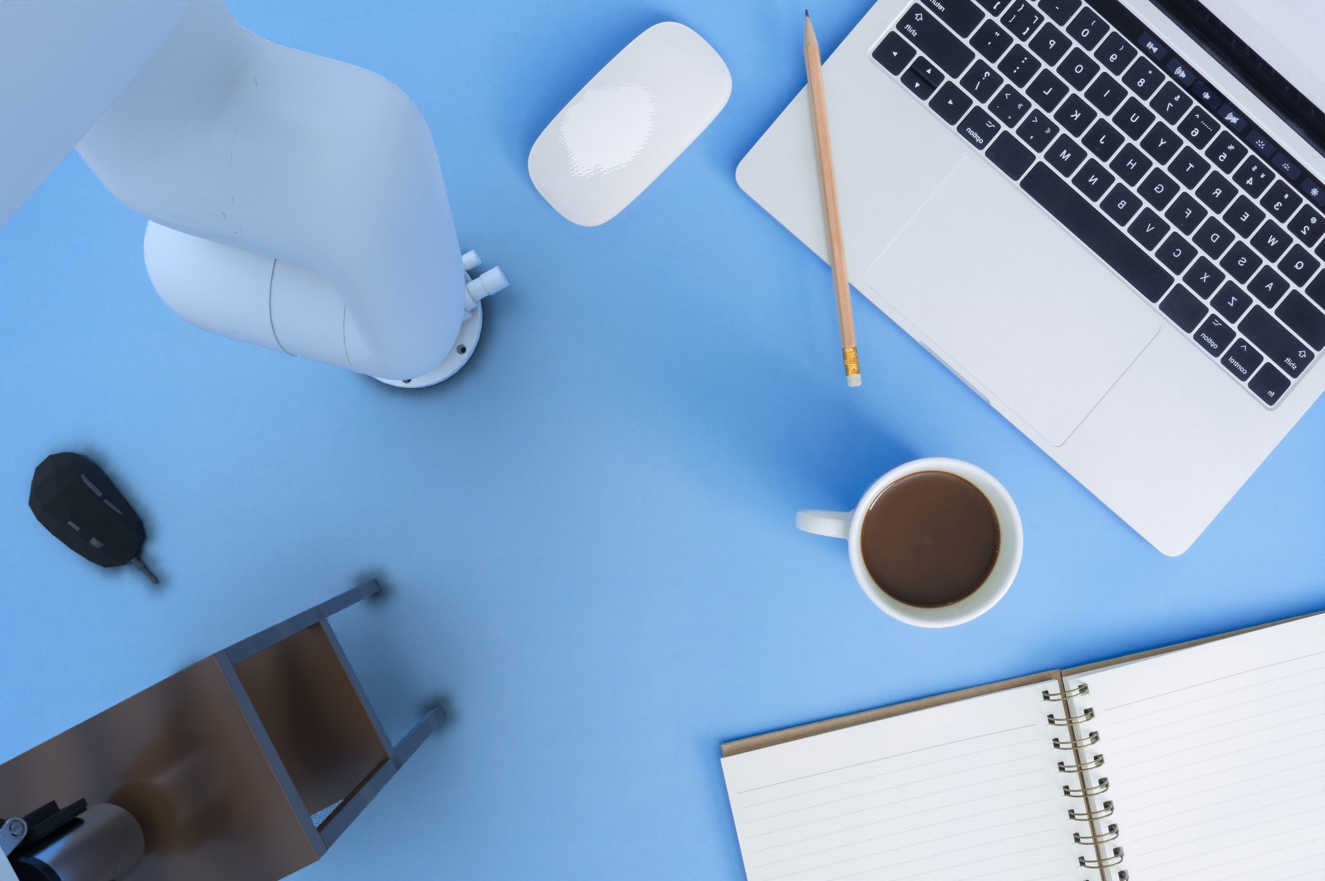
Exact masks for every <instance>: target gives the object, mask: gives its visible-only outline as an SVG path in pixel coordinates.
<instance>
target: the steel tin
mask: <svg viewBox="0 0 1325 881" xmlns="http://www.w3.org/2000/svg"><path fill="white" fill-rule="evenodd" d="M86 808H87V810H86V811H85V812H83V813H81V814H80V815H78V816H77V817H75V818H73V819H72V820H70V821H69V822H67V823H65V824H64V825H62V826H61V827H59V828H57V829H56V830H54V831H53V832H51V833H49V834H48V835H46V836H45V837H43V838H41V839H39V840H38V841H36V842H34V843H32V844H30V845H28V846H26V847H24V848H22V849H20V850H18V851H16V852H14V853H12V854H10V855H9V856H7V859H8V861H9V863H10V864H11V866H12V868H13V870H14V872H15V874H16V876H17V878H18V879H19V881H124V880H125V879H126V878H128V877H129V876H130V875H131V874H132V873H133V872H134V871H135V870H136V869H137V867H138V866H139V864H140V862H141V860H142V857H143V854H144V847H145V841H144V835H143V832H142V829H141V827H140V825H139V823H138V821H137V820H136V819H135V817H134V816H133V815H132V814H131V813H130V812H128V811H127V810H125V809H124V808H122V807H120V806H117V805H114V804H108V803H100V804H94V805H91V806H88V807H86Z"/></svg>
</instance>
